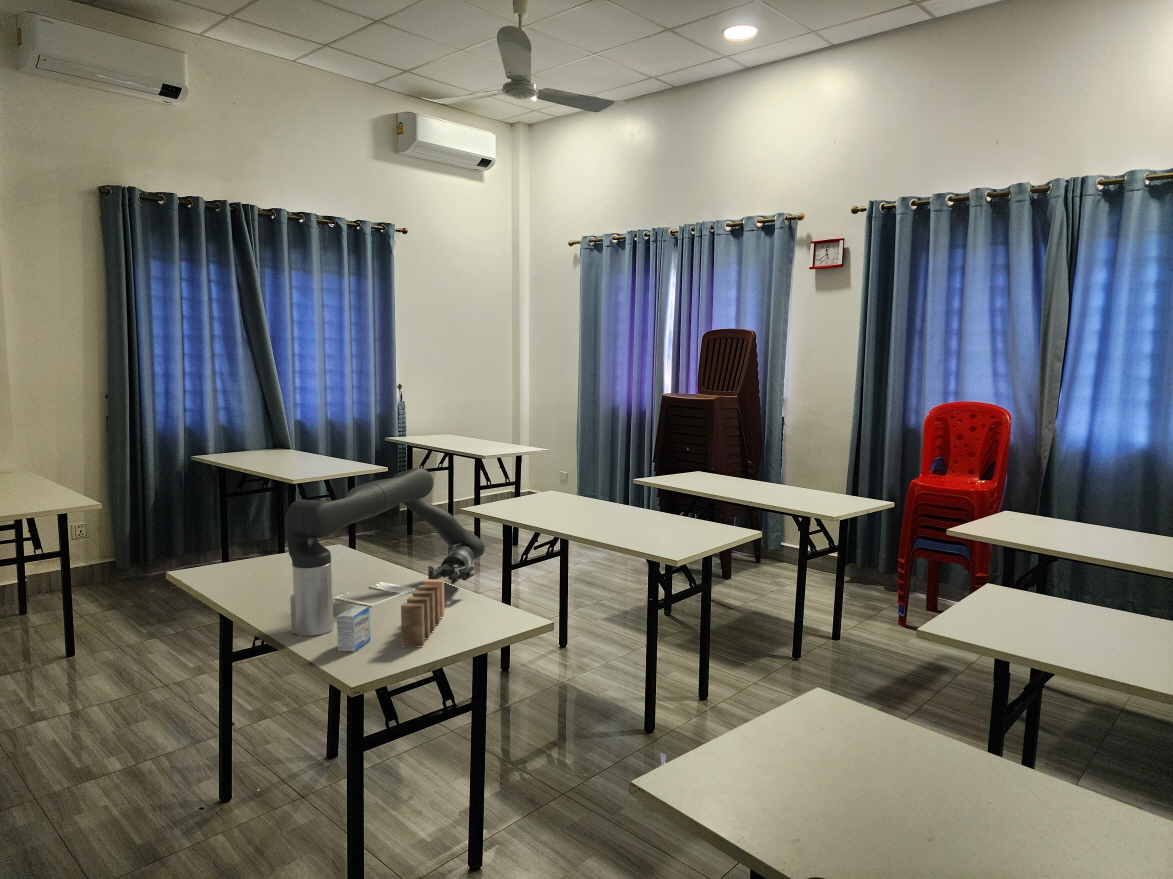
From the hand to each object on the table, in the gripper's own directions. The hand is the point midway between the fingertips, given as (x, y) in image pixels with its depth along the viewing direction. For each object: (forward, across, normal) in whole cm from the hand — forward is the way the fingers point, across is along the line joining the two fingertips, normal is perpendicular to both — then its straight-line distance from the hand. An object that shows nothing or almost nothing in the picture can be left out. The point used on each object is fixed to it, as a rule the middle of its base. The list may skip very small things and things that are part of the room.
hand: (443, 580), depth 208 cm
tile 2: (+15, 0, +7) cm, 17 cm away
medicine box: (+31, -14, +7) cm, 35 cm away
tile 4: (+25, 0, +7) cm, 26 cm away
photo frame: (-9, -22, +8) cm, 25 cm away
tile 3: (+20, 0, +7) cm, 22 cm away
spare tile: (+10, 0, +7) cm, 12 cm away
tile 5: (+30, 0, +7) cm, 31 cm away
